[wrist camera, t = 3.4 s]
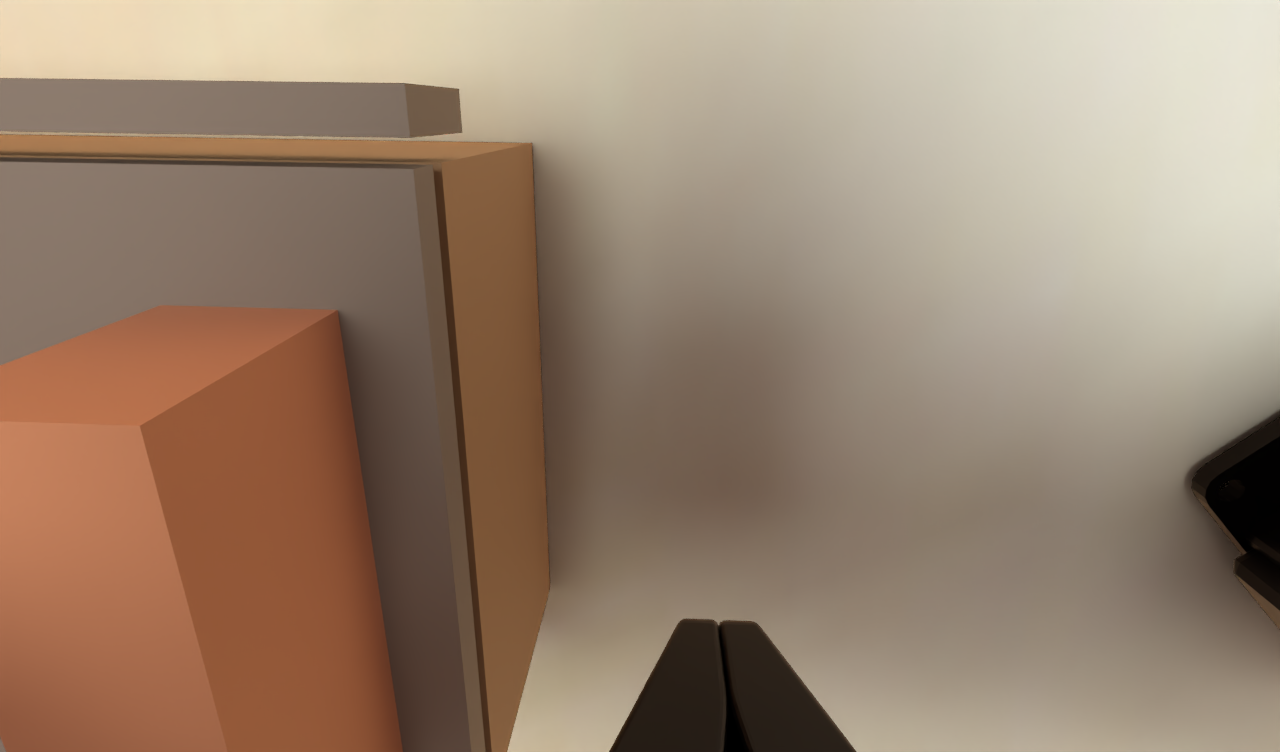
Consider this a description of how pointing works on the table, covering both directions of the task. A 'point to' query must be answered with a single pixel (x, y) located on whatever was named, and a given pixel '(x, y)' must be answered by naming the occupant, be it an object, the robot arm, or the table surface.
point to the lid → (229, 432)
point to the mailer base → (479, 355)
